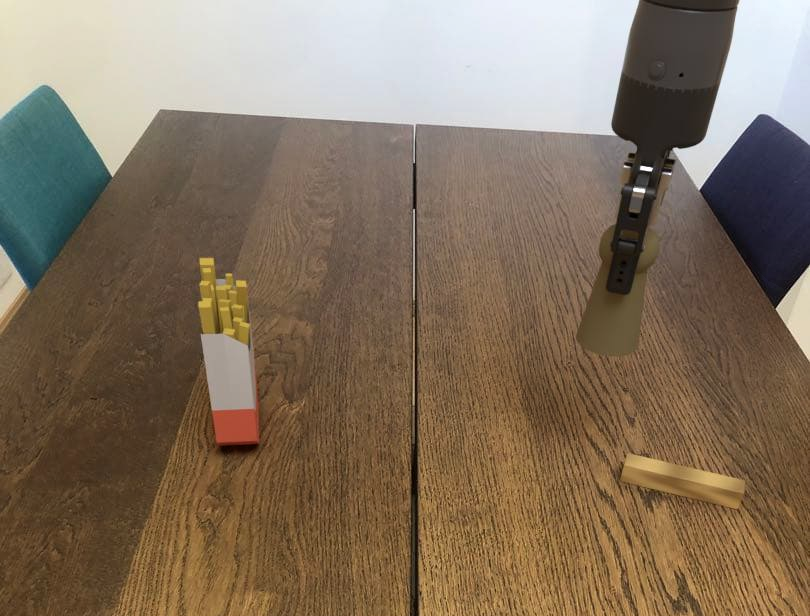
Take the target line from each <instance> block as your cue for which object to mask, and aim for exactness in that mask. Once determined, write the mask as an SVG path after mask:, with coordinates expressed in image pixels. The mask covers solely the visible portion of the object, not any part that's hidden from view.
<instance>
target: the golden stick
mask: <svg viewBox="0 0 810 616" xmlns="http://www.w3.org/2000/svg"><path fill="white" fill-rule="evenodd" d="M619 482H621V483H626V484H629V485H634V486H638V487H642V488H647V489H651V490H654V491H658V492H663V493H668V494H671V495H676V496H680V497H684V498H688V499H692V500H695V501H696V500H697V501H700V502H705V503H709V504H713V505H717V506H721V507H726V508H730V509H734V510H738V509H739V507H740V505H741V503H742V500H743V498H744V495H745V492H746V491H745V490H746V480H745V479H742V478H737V477H733V476H728V475H723V474H719V473H715V472H711V471H707V470H702V469H698V468H694V467H690V466H685V465H681V464H677V463H673V462H669V461H668V462H667V461H663V460H659V459H655V458H651V457H648V456H647V457H646V456H643V455H637V454H634V453H629V452H627V453H626V456H625V459H624V462H623V467H622V469H621V473H620V478H619Z"/></svg>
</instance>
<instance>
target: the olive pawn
mask: <svg viewBox="0 0 810 616" xmlns="http://www.w3.org/2000/svg"><path fill="white" fill-rule="evenodd" d="M615 226H616V223H613V224H612V225H610V226H609V227H607V229H606V230H605V231H604V232H603V233H602V236H601V238H600V241H599V245H598V255H599V258H600V260H601V263H600V267H599V270H598V273H597V275H596V278H595V281H594V284H593V287H592V290H591V292H590V295H589V297H588V300H587V303H586V305H585V309H584V312H583V315H582V316H581V320H580V323H579V326H578V328H577V330H576V335H575V340H576V341H577V344H579V345H580V346H581V348H583V349H584V350H587V351H588V352H590V353H593V354H596V355H598V356H604V357H608V358H609V357H610V358H611V357H613V358H614V357H615V358H619V357H625V356H629V355H632V354H634V353H635V352H636V351H637V350H638V349H639V345H640V337H641V328H642V318H643V312H644V303H645V294H646V285H647V278H648V270H649V269H650V268H651V267H652V266H653V265H654V264H655V262H656V260H657V258H658V256H659V253H660V243H661V242H660V238H659V235H658V234H657V232H656V231H655V230H654V229H652V228H651V227H649V228H648V230H647V234H646V238H645V242H644V245H645V248H644V252H643V253H641V256H640V257H639V261H638V265H637V269H636V273H635V277H634V281H633V285H632V289H631V291H630V293H629V294H628V295H621V294H616V293H611V292H608V291H607V290H606V283H607V278H608V274H609V270H610V265H611V261H612V256H613V252H611V247H610V244H611V241H613V236H614V231H615ZM638 236H639V234H638V233H637V232H635V231H629V230H623V234H622V237H625V238H631V239H636V240H638Z"/></svg>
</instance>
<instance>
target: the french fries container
mask: <svg viewBox="0 0 810 616" xmlns="http://www.w3.org/2000/svg"><path fill="white" fill-rule="evenodd" d="M199 269H200V275H201V281H200V282H199V292H200V298H201V300H200V301H199V300H198V301H197V303H198V313H199V318H200V323H201V325H200V326H201V327H200V339H201V345H202V353H203V359H204V366H205V372H206V381H207V386H208V387H207V388H208V393H209V399H210V407H211V413H212V420H213V421H212V422H213V427H214V434H215V440H216V443H217V444H218V445H219V446H220V447H223V446H241V445H242V446H246V445H259V444H260V414H259V413H260V412H259V395H258V380H257V370H256V361H255V359H256V358H255V350H254V342H253V341H254V339H253V331H252V321H251V311H250V302H249V295H248V285H247V280H238V279H237V280H235V285H234V279H233V273H225V278H217V275H216V268H215V260H214V258H213V257H199Z"/></svg>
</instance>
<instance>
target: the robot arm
mask: <svg viewBox="0 0 810 616" xmlns="http://www.w3.org/2000/svg"><path fill="white" fill-rule="evenodd" d="M740 1H741V0H638V4H637V7H636V9H635V13H634V16H633V20H632V22H631V25H630V28H629V34H628V38H627V41H626V48H625V52H624V58H623V64H622V68H621V71H620V72H621V73H620V76H619V82H618V87H617V92H616V96H615V97H616V98H615V102H614V106H613V112H612V116H611V117H612V118H611V121H610V124H611V129H612V132H613V133H614V134H615V135H616V136H617V137H619V138H620V139H622V140H623V141H626V142H631V143H632V144H634V145H635V146H636V150H635V151H628V153H627V157H626V160H624V162H623V166H622V169H621V173H620V177H619V182H620V184H621V186H620V191H619V195H618V199H617V202H616V207H615V211H614V219H615V220H616V222H615V224H616V226H615V231H614V236H613V241H611V244H610V247H611V252H613V256H612V261H611V265H610V270H609V274H608V278H607V283H606V290H607V291H608V292H611V293H616V294H621V295H628V294H629V293H630V291H631V289H632V285H633V281H634V277H635V273H636V269H637V265H638V261H639V257H640V256H641V253H643V252H644V248H645V245H644V242H645V238H646V234H647V230H648V228H651V227H654V226H655V224H657V220H658V216H659V213H660V208H661V207H662V204H663V200H664V197H665V193H666V191H667V190H668V189H669V186H670V182H671V180H672V177H673V173H674V170H675V166H676V162H677V158H676V157H675V158H674V157H670V156H671V151H672V152H673V151H674V149H679V150H682V149H687V148H688V149H689V148H693V147H695V146H697V145H699V144H701V143H702V142H703V141H704V139H705V138H706V136H707V132H708V128H709V126H710V123H711V119H712V115H713V111H714V108H715V104H716V100H717V96H718V93H719V90H720V86H721V82H722V79H723V76H724V72H725V68H726V65H727V62H728V61H727V60H728V57H729V53H730V51H731V46H732V41H733V36H734V30H735V24H736V23H735V22H736V17H737V13H738V6H739V4H740ZM623 230H629V231H635V232H637V233H638V234H639V236H638V240H636V239H631V238H625V237H622V234H623Z"/></svg>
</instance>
